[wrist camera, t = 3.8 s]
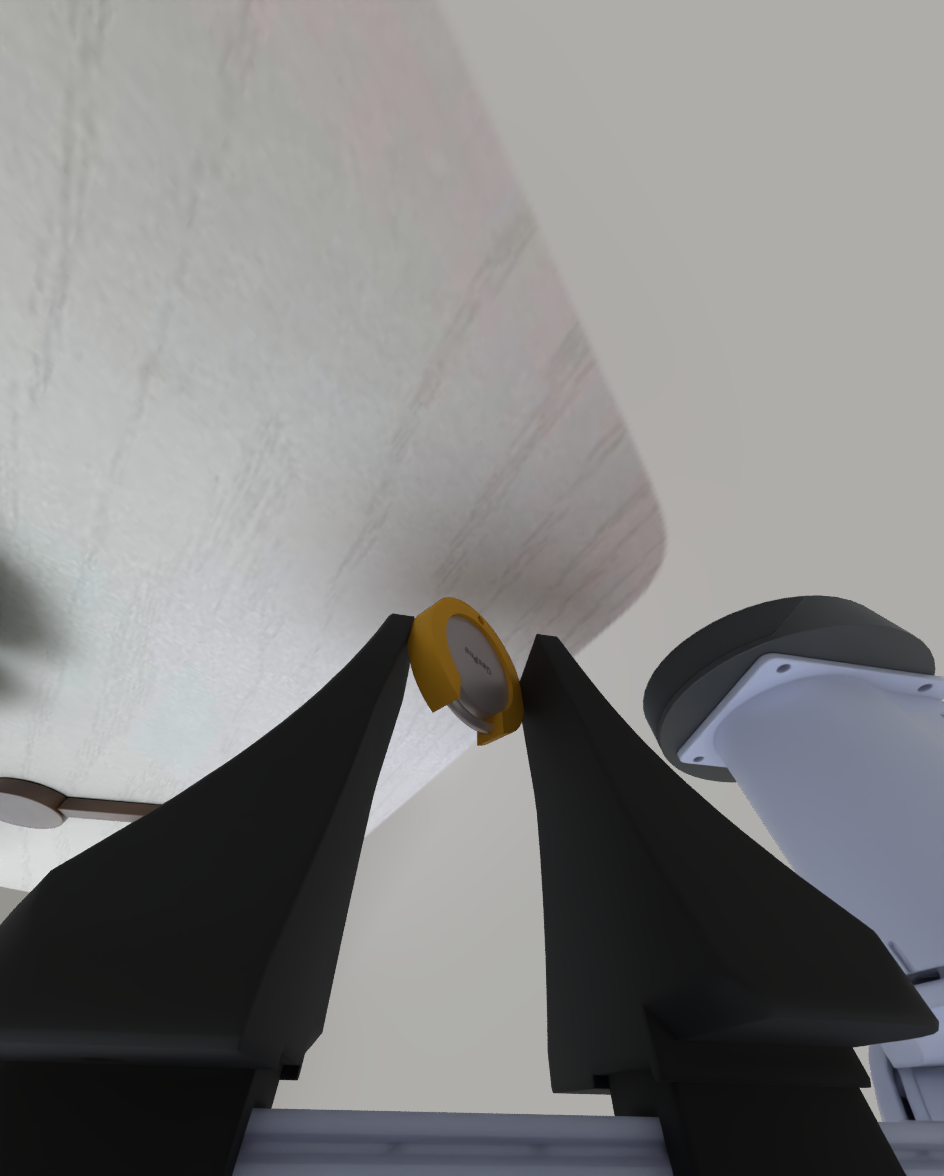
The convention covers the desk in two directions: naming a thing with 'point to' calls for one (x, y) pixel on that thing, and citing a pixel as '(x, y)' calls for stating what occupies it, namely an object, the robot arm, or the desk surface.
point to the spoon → (58, 806)
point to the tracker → (465, 669)
